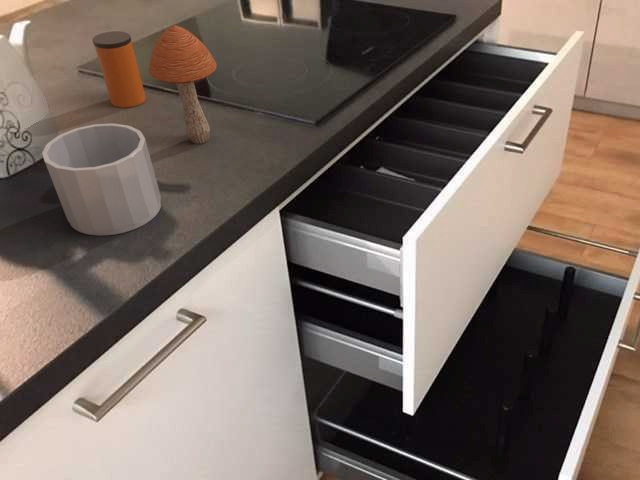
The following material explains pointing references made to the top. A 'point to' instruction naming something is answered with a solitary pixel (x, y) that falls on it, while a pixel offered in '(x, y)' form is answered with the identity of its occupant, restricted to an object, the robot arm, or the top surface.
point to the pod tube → (119, 68)
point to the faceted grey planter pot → (103, 178)
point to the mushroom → (184, 74)
